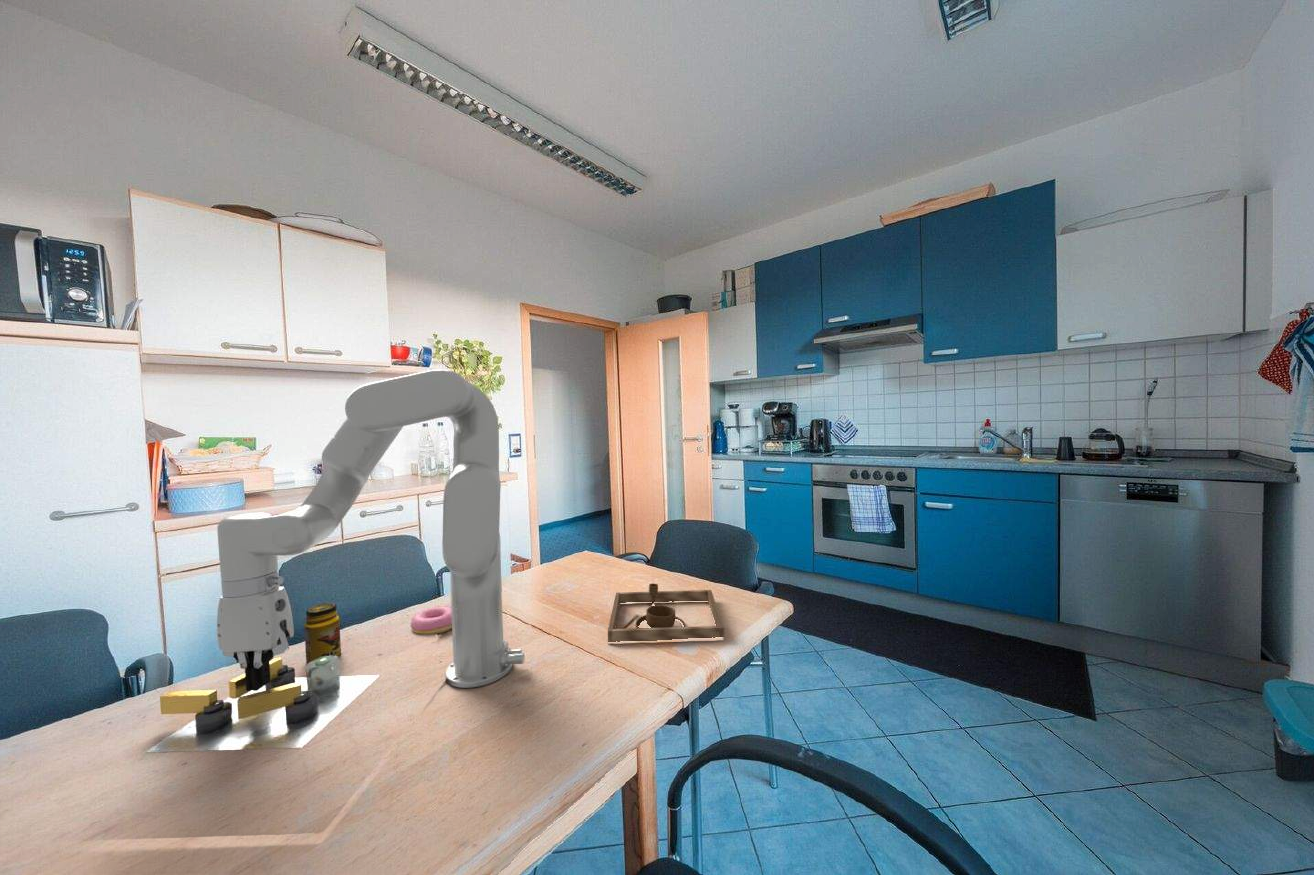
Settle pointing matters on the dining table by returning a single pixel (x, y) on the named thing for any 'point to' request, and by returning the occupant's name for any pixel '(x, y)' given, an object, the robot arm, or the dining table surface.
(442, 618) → the doughnut
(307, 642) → the condiment
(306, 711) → the knob
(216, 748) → the silver flat rectangular sheet
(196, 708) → the knob
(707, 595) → the brown rectangular frame
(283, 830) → the dining table surface
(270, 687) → the knob
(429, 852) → the dining table surface
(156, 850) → the dining table surface
